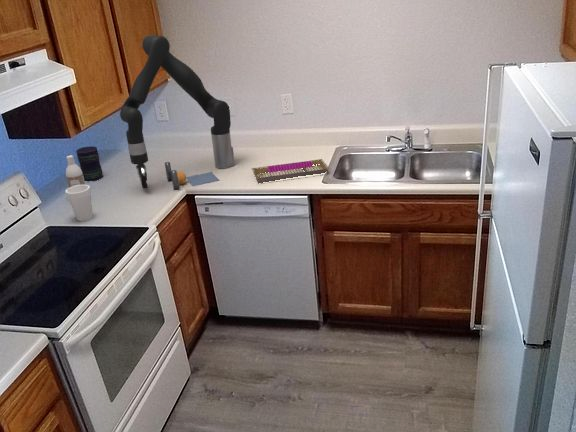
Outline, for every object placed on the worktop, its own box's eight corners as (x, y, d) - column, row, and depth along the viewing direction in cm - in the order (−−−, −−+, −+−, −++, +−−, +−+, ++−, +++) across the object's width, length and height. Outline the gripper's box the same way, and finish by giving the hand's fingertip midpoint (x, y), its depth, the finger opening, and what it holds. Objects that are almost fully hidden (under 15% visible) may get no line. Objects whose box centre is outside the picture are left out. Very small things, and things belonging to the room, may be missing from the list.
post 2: (178, 188, 241) (175, 169, 238) (180, 189, 239) (177, 171, 235) (173, 189, 241) (170, 170, 237) (174, 191, 238) (171, 172, 235)
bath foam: (71, 202, 234) (60, 159, 226) (73, 196, 240) (62, 154, 232) (87, 199, 235) (76, 157, 227) (89, 194, 242) (78, 152, 233)
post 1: (172, 179, 252) (169, 161, 249) (173, 180, 250) (170, 163, 246) (167, 180, 252) (163, 162, 248) (168, 182, 249) (165, 164, 245)
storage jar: (107, 177, 261) (100, 148, 254) (89, 183, 254) (82, 154, 248) (97, 173, 267) (90, 145, 261) (79, 179, 261) (72, 150, 254)
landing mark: (211, 172, 258) (211, 171, 258) (219, 180, 247) (219, 180, 247) (185, 177, 253) (185, 177, 253) (192, 186, 243) (192, 185, 243)
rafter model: (322, 165, 258) (321, 153, 255) (330, 175, 245) (330, 163, 243) (252, 175, 252) (250, 163, 250) (256, 185, 239) (255, 173, 237)
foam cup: (76, 214, 222) (69, 185, 216) (98, 212, 222) (92, 183, 217) (70, 223, 213) (62, 194, 208) (93, 221, 214) (86, 192, 208)
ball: (186, 179, 250) (182, 168, 247) (189, 183, 245) (185, 171, 242) (173, 183, 248) (170, 172, 245) (176, 187, 243) (173, 175, 240)
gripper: (149, 154, 229) (156, 191, 236) (143, 146, 240) (150, 181, 247) (131, 157, 226) (139, 194, 233) (127, 149, 237) (134, 185, 244)
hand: (144, 187), depth 240 cm, fingers closed
